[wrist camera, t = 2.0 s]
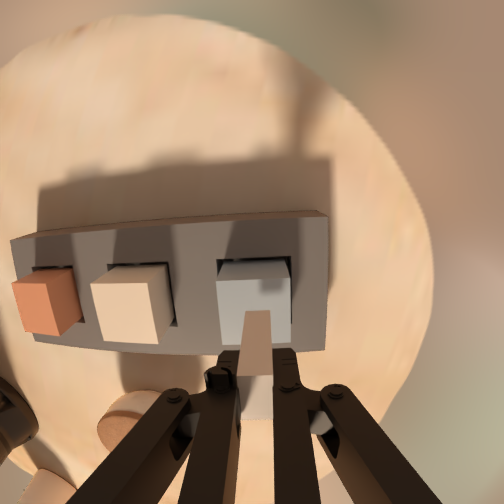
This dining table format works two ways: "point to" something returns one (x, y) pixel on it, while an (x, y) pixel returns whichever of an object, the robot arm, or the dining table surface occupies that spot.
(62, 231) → the console
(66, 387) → the dining table surface
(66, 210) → the dining table surface
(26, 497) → the can
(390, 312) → the dining table surface
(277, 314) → the grey cube
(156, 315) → the key ivory
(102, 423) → the lidded jar
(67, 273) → the key terracotta
